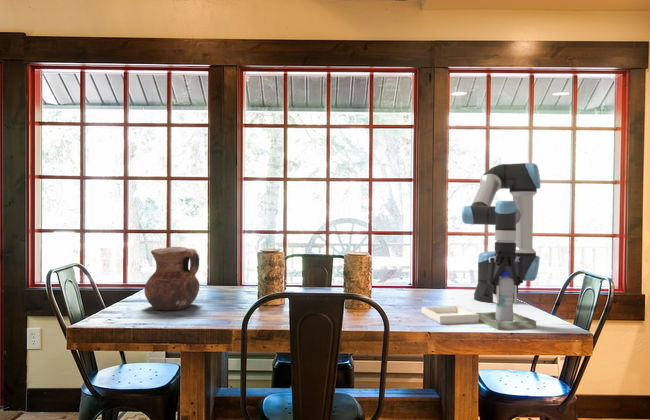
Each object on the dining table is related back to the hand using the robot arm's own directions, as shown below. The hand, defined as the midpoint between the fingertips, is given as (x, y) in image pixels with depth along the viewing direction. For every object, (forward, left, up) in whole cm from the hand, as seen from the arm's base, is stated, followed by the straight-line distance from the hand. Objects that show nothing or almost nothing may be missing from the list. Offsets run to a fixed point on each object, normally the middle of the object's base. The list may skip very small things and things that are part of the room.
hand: (504, 302), depth 172 cm
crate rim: (0, 0, -8) cm, 8 cm away
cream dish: (+17, -11, -8) cm, 22 cm away
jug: (+125, -49, -8) cm, 135 cm away
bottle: (0, 0, -8) cm, 8 cm away
